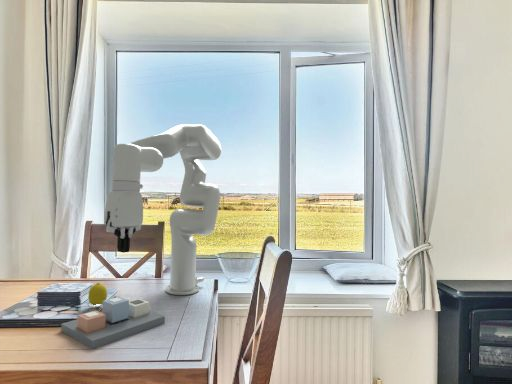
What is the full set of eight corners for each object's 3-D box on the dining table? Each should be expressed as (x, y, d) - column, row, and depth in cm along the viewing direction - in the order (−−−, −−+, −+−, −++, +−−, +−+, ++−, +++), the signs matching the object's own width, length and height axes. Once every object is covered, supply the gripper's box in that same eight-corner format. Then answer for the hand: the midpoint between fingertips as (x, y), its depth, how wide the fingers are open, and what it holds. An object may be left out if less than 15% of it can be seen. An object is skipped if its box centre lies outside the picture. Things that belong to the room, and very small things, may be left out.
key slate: (118, 313, 103) (118, 295, 103) (128, 317, 100) (128, 299, 100) (102, 318, 99) (102, 299, 99) (112, 322, 96) (112, 303, 96)
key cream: (138, 314, 108) (139, 297, 108) (148, 318, 105) (149, 301, 105) (124, 319, 104) (124, 301, 104) (134, 323, 101) (134, 305, 101)
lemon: (99, 311, 111) (100, 286, 111) (84, 309, 112) (85, 284, 112) (110, 305, 116) (111, 281, 116) (95, 303, 117) (96, 280, 117)
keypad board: (132, 309, 113) (132, 303, 113) (164, 322, 103) (164, 316, 103) (61, 331, 95) (61, 323, 95) (92, 348, 86) (92, 340, 86)
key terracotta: (95, 328, 97) (95, 309, 97) (105, 333, 94) (105, 313, 94) (77, 333, 93) (77, 314, 93) (86, 339, 90) (87, 319, 90)
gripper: (140, 188, 109) (137, 247, 109) (93, 186, 96) (91, 253, 96) (155, 188, 104) (153, 250, 104) (109, 187, 92) (106, 256, 92)
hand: (123, 251), depth 100 cm, fingers closed
